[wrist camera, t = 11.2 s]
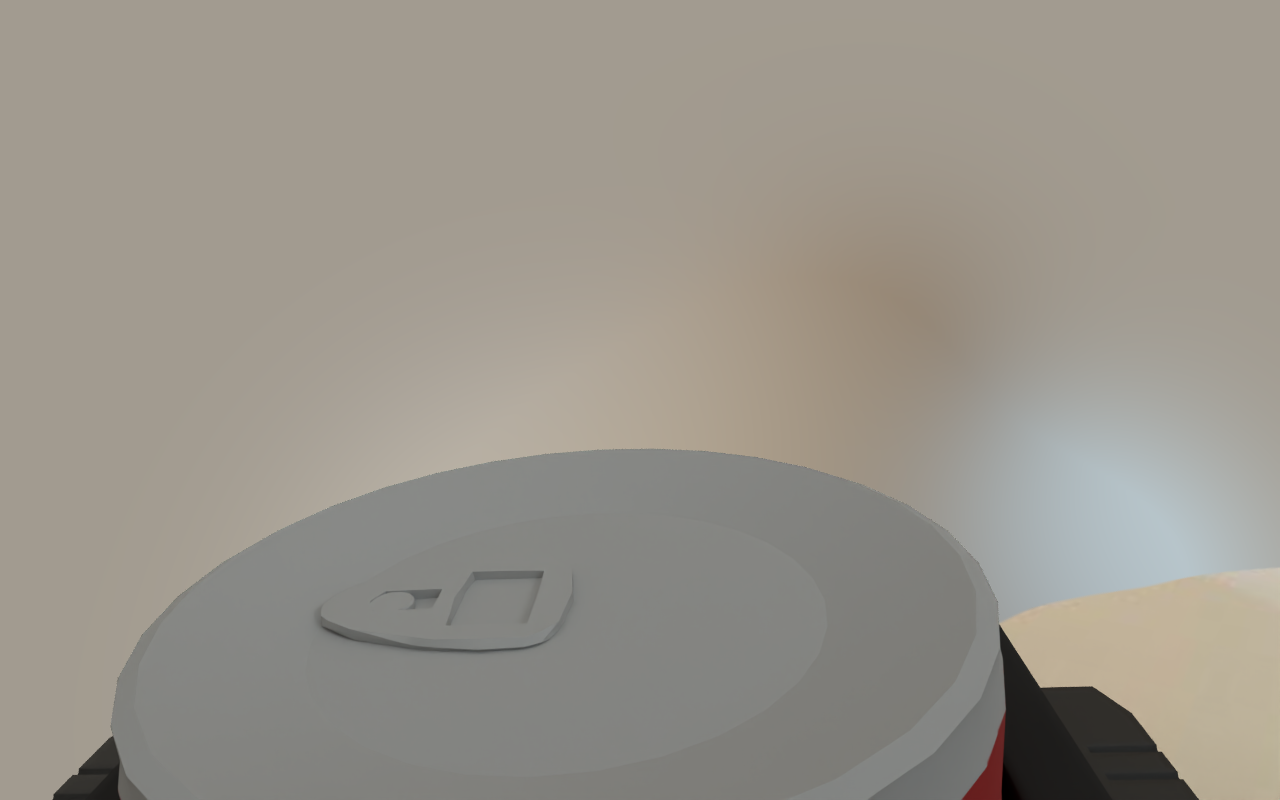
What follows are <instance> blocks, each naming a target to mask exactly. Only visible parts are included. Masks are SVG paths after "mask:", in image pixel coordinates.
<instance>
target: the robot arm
mask: <svg viewBox="0 0 1280 800" xmlns="http://www.w3.org/2000/svg"><path fill="white" fill-rule="evenodd" d="M999 634H1000V650H1001V653H1002V657H1003V670H1004V687H1005V704H1006V715H1005V734H1004V752H1003V771H1002V789H1001V794H1002V800H1199V799H1198V798H1197V797H1196V795H1195V794H1194V793H1193V791H1192V790H1191V789H1190V788H1189V786H1188V785H1187V784H1186V782H1185V781H1184V780H1183V779H1179V778H1178V772H1177V771H1176V770H1175V768H1174V767H1173V766H1172V764H1171V763H1170V762H1169V761H1168V759H1167V758H1166V757H1165V755H1164V754H1163V753H1162V752H1158V751H1157V745H1156V744H1155V743H1154V741H1153V740H1152V739H1151V738H1150V736H1149V735H1148V734H1147V732H1146V731H1145V730H1144V729H1143V727H1142V726H1141V725H1140V723H1139V722H1138V721H1137V720H1136V718H1135V717H1134V716H1133V714H1132V713H1131V712H1129V711H1128V710H1126V709H1125V708H1123V707H1122V706H1120V705H1119V704H1117V703H1116V702H1114V701H1113V700H1111V699H1110V698H1109V697H1107V696H1106V695H1104V694H1103V693H1101V692H1100V691H1098V690H1097V689H1095V688H1094V687H1051V688H1040V687H1039V685H1038V684H1037V682H1036V681H1035V679H1034V678H1033V676H1032V674H1031V673H1030V671H1029V670H1028V668H1027V667H1026V665H1025V664H1024V662H1023V661H1022V659H1021V657H1020V656H1019V654H1018V653H1017V651H1016V650H1015V648H1014V647H1013V645H1012V643H1011V642H1010V640H1009V639H1008V637H1007V636H1006V634H1005V633H1004V631H1003V630H1002V628H1001V626H1000V625H999ZM119 767H120V759H119V755H118V752H117V748H116V744H115V741H114V737H113V736H112V737H111V738H109V739H108V740H107V741H106V742H105V743H104V744H103V745H102V746H101V747H100V748H99V749H98V750H97V751H96V752H95V753H94V754H93V755H92V756H91V757H90V758H89V759H88V760H87V761H86V762H85V763H84V764H83V765H82V766H81V767H80V768H79V773H78V775H72V777H71V778H69V779H68V780H67V782H65V784H63V785H62V786H61V787H60V789H59V790H58V791H57V792H56V793H55V794H54V798H53V800H120V796H119V793H118V781H119Z"/></svg>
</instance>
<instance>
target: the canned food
mask: <svg viewBox="0 0 1280 800" xmlns="http://www.w3.org/2000/svg"><path fill="white" fill-rule="evenodd" d="M1005 715H1006V704H1005V687H1004V670H1003V657H1002V653H1001V650H1000V634H999V617H998V601H997V599H996V597H995V595H994V593H993V591H992V589H991V587H990V585H989V583H988V581H987V579H986V577H985V575H984V573H983V571H982V569H981V567H980V565H979V563H978V562H977V561H976V560H975V559H974V558H973V556H971V554H970V553H969V552H968V551H967V550H966V549H965V548H964V547H963V546H962V545H961V544H960V543H959V542H958V541H957V540H956V539H955V538H954V537H953V536H952V535H951V534H950V533H949V532H948V531H947V530H946V529H944V528H943V527H941V526H940V525H938V524H937V523H935V522H933V521H932V520H931V519H929V518H927V517H926V516H924V515H923V514H921V513H920V512H918V511H917V510H915V509H914V508H912V507H911V506H909V505H907V504H905V503H903V502H900V501H898V500H896V499H894V498H892V497H889V496H887V495H885V494H883V493H880V492H878V491H876V490H874V489H871V488H869V487H867V486H864V485H862V484H859V483H856V482H852V481H849V480H846V479H843V478H839V477H836V476H833V475H829V474H826V473H823V472H820V471H816V470H813V469H810V468H807V467H802V466H797V465H792V464H787V463H782V462H777V461H772V460H767V459H763V458H758V457H750V456H742V455H732V454H725V453H716V452H708V451H689V450H668V449H667V450H666V449H615V450H592V451H579V452H567V453H554V454H543V455H536V456H529V457H523V458H515V459H508V460H501V461H494V462H488V463H484V464H479V465H474V466H469V467H465V468H459V469H454V470H450V471H445V472H440V473H436V474H432V475H429V476H425V477H421V478H418V479H414V480H410V481H407V482H403V483H400V484H396V485H392V486H389V487H385V488H382V489H379V490H376V491H373V492H371V493H368V494H365V495H362V496H360V497H357V498H354V499H351V500H348V501H345V502H342V503H340V504H337V505H334V506H331V507H329V508H327V509H325V510H322V511H320V512H318V513H316V514H314V515H311V516H309V517H307V518H305V519H303V520H300V521H298V522H296V523H294V524H291V525H289V526H287V527H285V528H283V529H281V530H279V531H277V532H275V533H273V534H271V535H269V536H268V537H266V538H264V539H263V540H261V541H259V542H257V543H256V544H254V545H252V546H250V547H249V548H247V549H245V550H243V551H242V552H240V553H238V554H237V555H235V556H233V557H231V558H230V559H228V560H226V561H224V562H223V563H222V564H220V565H219V566H217V567H216V568H215V569H213V570H212V571H211V572H209V573H208V574H207V575H205V576H204V577H203V578H202V579H200V580H199V581H198V582H196V583H195V584H194V585H192V586H191V587H190V588H188V589H187V590H186V591H185V592H183V593H182V594H181V595H179V596H178V597H177V598H176V599H175V600H174V601H173V602H172V603H171V605H170V606H169V607H168V608H167V609H166V610H165V611H164V612H163V613H162V614H161V615H160V616H159V617H158V618H157V619H156V621H155V622H154V623H153V624H152V625H151V626H150V627H149V628H148V629H147V630H146V631H145V632H144V633H143V634H142V636H141V638H140V640H139V642H138V643H137V645H136V647H135V649H134V650H133V652H132V654H131V656H130V658H129V660H128V661H127V663H126V665H125V667H124V668H123V670H122V672H121V674H120V676H119V678H118V681H117V688H116V695H115V701H114V708H113V714H112V721H111V730H112V733H113V737H114V741H115V744H116V748H117V752H118V755H119V759H120V767H119V781H118V793H119V796H120V800H1002V794H1001V789H1002V771H1003V752H1004V734H1005Z"/></svg>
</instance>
